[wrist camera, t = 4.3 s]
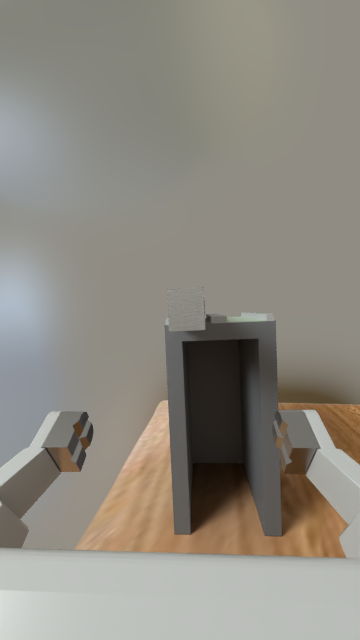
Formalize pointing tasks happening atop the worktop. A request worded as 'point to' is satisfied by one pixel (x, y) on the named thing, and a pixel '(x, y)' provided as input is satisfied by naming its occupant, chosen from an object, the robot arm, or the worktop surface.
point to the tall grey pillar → (225, 409)
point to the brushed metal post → (186, 309)
